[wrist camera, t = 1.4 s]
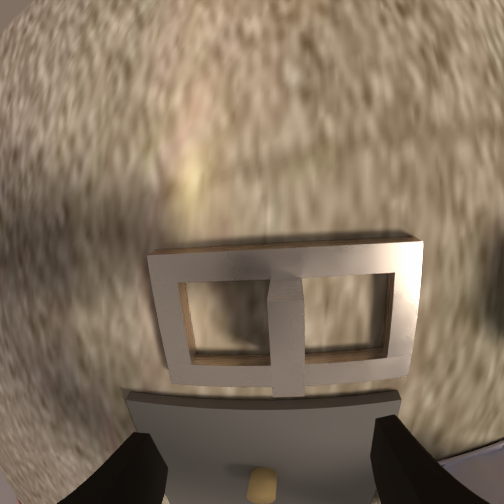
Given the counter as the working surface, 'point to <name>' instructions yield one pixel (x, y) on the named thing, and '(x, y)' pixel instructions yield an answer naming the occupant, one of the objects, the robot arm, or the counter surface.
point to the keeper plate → (265, 447)
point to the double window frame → (288, 311)
